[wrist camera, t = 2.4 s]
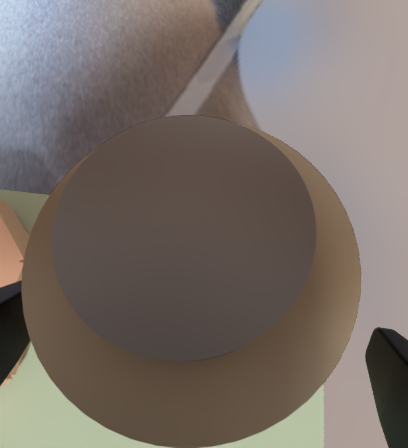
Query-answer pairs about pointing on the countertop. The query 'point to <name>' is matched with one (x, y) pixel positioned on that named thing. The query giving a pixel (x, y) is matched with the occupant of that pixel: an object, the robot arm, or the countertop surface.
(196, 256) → the pepper mill
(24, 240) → the octagonal ashtray
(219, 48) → the countertop surface
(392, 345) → the robot arm
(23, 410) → the mat
